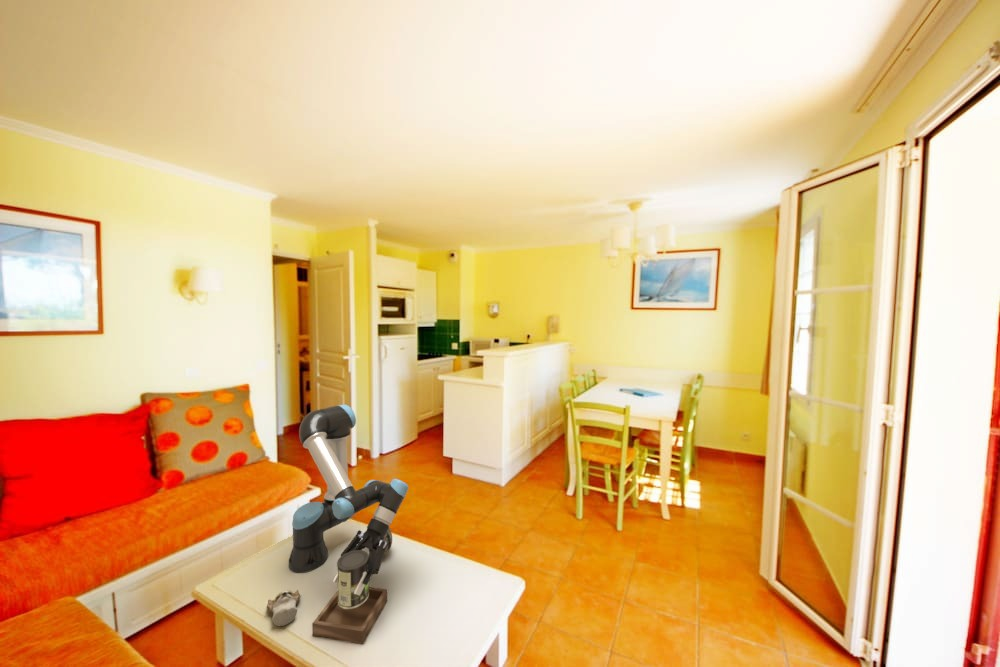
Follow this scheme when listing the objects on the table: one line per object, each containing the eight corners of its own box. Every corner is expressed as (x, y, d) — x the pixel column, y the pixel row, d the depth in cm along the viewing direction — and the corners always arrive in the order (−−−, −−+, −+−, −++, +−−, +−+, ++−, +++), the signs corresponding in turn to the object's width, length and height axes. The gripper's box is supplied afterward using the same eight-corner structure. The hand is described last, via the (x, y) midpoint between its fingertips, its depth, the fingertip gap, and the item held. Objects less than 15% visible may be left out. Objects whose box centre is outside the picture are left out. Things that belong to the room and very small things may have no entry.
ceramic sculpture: (266, 611, 121) (266, 584, 133) (266, 637, 121) (266, 608, 133) (303, 598, 126) (299, 574, 139) (303, 623, 126) (299, 596, 139)
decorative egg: (382, 567, 155) (382, 533, 154) (358, 561, 158) (358, 528, 157) (397, 550, 166) (397, 518, 165) (375, 544, 169) (375, 513, 168)
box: (342, 594, 139) (342, 583, 139) (387, 600, 137) (387, 589, 137) (312, 636, 122) (312, 623, 121) (363, 644, 119) (363, 631, 119)
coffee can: (371, 585, 134) (371, 548, 133) (365, 607, 124) (365, 568, 123) (341, 588, 133) (341, 551, 132) (333, 611, 122) (333, 571, 122)
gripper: (408, 533, 135) (375, 603, 122) (366, 516, 146) (331, 578, 133) (397, 527, 130) (362, 599, 117) (354, 509, 141) (318, 574, 128)
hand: (346, 588), depth 125 cm, fingers closed on coffee can, 10 cm apart
